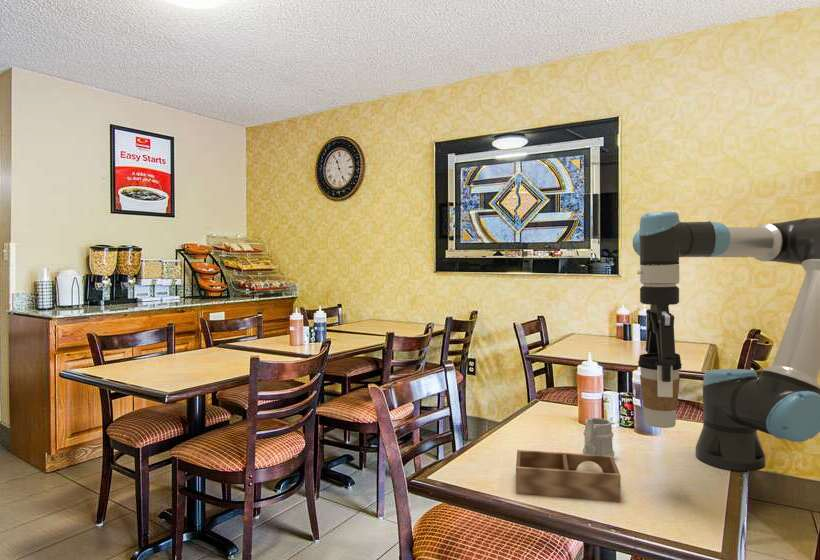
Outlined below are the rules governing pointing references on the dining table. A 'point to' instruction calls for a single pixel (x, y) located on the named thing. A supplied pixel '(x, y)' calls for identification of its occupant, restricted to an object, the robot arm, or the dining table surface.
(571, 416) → the dining table surface
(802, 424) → the robot arm
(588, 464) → the beige ball
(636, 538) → the dining table surface
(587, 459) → the caddy
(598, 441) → the mug
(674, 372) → the coffee cup
